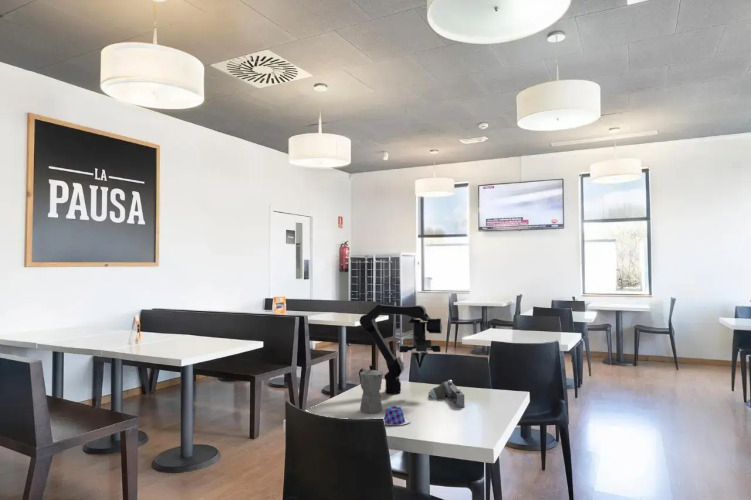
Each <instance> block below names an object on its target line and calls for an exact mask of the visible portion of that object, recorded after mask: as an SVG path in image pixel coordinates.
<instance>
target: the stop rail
mask: <svg viewBox="0 0 751 500" xmlns="http://www.w3.org/2000/svg"><path fill="white" fill-rule="evenodd" d="M444 382H445V385H446V387H447V390H448V391H449V395H450V398H449V400H451V402H452V403H453V404H454V405H455V406H456V408H465V394H464V393H463V392H462V391H461V387H457V386H456V385H455V383H453V380H452V379H448V380H447V381H444Z"/></svg>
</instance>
